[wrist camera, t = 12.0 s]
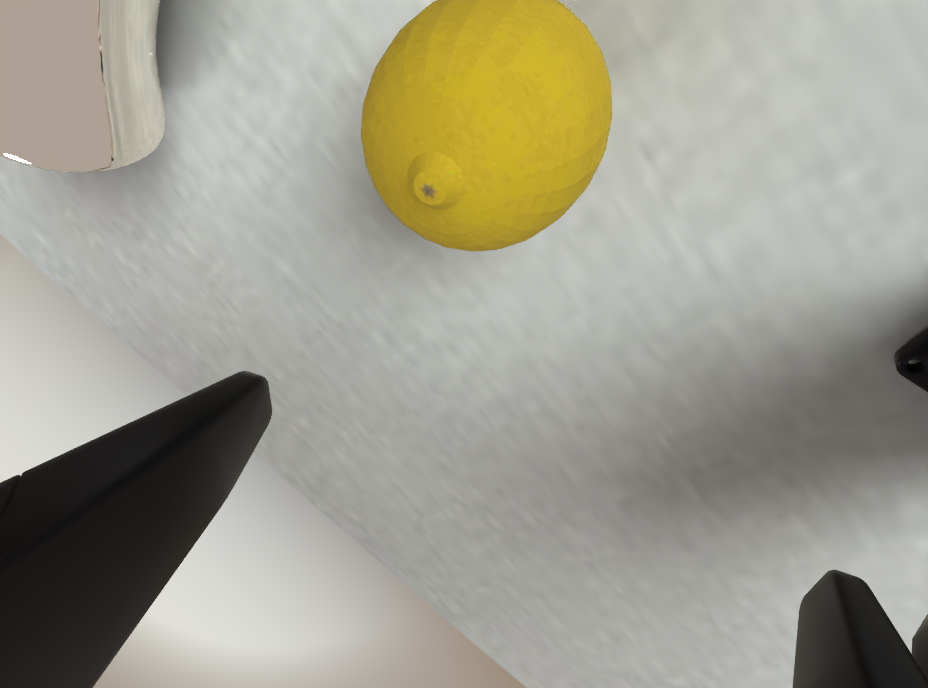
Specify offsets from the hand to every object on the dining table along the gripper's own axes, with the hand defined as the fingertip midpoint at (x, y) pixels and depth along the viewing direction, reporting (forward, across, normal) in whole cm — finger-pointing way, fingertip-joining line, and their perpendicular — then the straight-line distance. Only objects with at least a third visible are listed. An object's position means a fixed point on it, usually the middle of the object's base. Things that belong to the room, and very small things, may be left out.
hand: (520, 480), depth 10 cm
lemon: (+12, +3, -2) cm, 13 cm away
